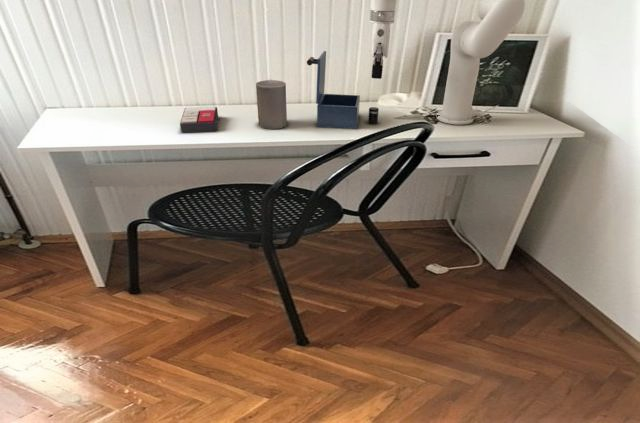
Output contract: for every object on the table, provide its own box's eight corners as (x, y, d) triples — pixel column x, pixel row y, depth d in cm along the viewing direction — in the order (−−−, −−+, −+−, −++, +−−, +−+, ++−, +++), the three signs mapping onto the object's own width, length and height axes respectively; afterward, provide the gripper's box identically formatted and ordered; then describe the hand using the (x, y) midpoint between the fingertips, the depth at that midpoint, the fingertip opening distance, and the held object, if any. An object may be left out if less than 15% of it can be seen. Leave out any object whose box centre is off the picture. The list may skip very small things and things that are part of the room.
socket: (377, 121, 142) (378, 107, 139) (377, 124, 139) (378, 110, 136) (368, 121, 142) (369, 106, 139) (367, 124, 139) (368, 109, 137)
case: (358, 115, 147) (359, 95, 143) (356, 129, 135) (357, 107, 131) (322, 113, 149) (323, 93, 145) (317, 126, 136) (317, 105, 133)
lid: (326, 51, 138) (311, 50, 138) (320, 59, 125) (304, 57, 126) (324, 92, 145) (310, 91, 145) (318, 103, 132) (303, 102, 133)
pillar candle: (252, 125, 137) (248, 79, 129) (272, 118, 144) (270, 74, 136) (273, 131, 132) (271, 84, 124) (293, 123, 139) (292, 78, 131)
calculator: (179, 121, 128) (184, 105, 140) (181, 134, 130) (186, 117, 143) (214, 120, 130) (216, 104, 142) (216, 133, 132) (218, 116, 144)
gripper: (395, 20, 116) (388, 81, 125) (394, 15, 131) (388, 70, 140) (368, 19, 117) (364, 80, 126) (370, 14, 132) (366, 69, 141)
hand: (376, 75), depth 133 cm, fingers open, 9 cm apart
